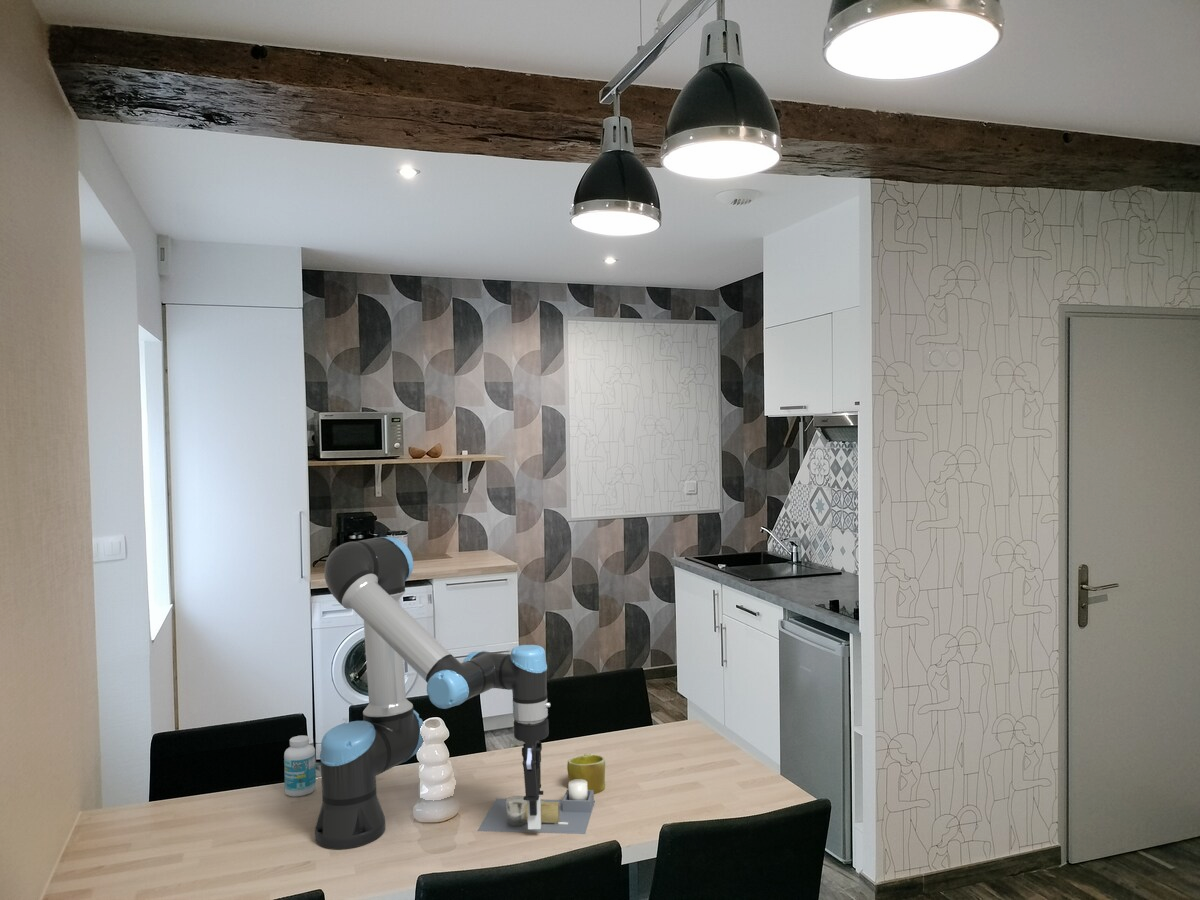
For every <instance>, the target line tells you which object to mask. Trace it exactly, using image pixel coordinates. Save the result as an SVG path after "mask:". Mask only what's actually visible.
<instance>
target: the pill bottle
mask: <svg viewBox="0 0 1200 900" xmlns="http://www.w3.org/2000/svg"><path fill="white" fill-rule="evenodd" d="M283 754H284V755H283V759H284V760H283V763H284V765H283V766H284V793H285V794H286V795H287V796H289V797H297V798H298V797H304V796H307V795H310V794H312V793H313V792H314V791H315V790H316V787H317V782H316V781H317V780H316V779H317V777H316V776H317V775H316V773H317V771H316V767H317V766H316V749H315V747H314V745H312V744H310V737H309V735H297V736H292V737H291V738H290V739H289V747H288V748H286V749H285V751H284V753H283Z"/></svg>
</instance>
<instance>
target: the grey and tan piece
mask: <svg viewBox="0 0 1200 900" xmlns="http://www.w3.org/2000/svg"><path fill="white" fill-rule="evenodd" d="M524 796H525V795H513V796H510V797H508V798H506V799H507V800H506V802H507V823H508V824H509V825H512V826H520V825H523V824H525V823H527V822H528V813H527V801H526V800H524V799H523V798H524ZM540 804H541V822H545V823H559V820H560V816H559V802H540Z"/></svg>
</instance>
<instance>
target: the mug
mask: <svg viewBox="0 0 1200 900" xmlns="http://www.w3.org/2000/svg"><path fill="white" fill-rule="evenodd" d="M566 766H567V768H566V769H567V777H568V783H569V782H570V781H571V780H574V779H583V780H586V781H587V790H594V795H597V794H600V793H602V792H604V791H605V789H606V761H605V758H604V757H603V756H601V755H598V754H597V755H596V754H592V753H584V754H583V755H580V756H579V755H578V756H573V757H571V758H569V759H567V765H566Z"/></svg>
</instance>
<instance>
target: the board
mask: <svg viewBox="0 0 1200 900" xmlns="http://www.w3.org/2000/svg"><path fill="white" fill-rule="evenodd" d="M507 799H508V798H495V800H494V801H493V802H492V805H491V807H490V809H489V810H488V812H487V814H486V815H485V817H484V818H483V820H482V822H481V824H480V825H479V827H478V829H477V832H496V833H497V832H500V833H503V832H504V833H530V834H531V833H536V834H537V833H538V834H540V833H541V834H567V835H569V834H571V835H572V834H573V835H574V834H575V835H586V833H587V830H588V826H589V823H590V819H591V815H592V813H593V809H594V806H595V803H596V800H595V794H594V790H588V800H569V789H566V791H565V794H564V796H563V799H541V798H540V802H559V816H560V820H559V823H545V822H541V829H528V822H527V823H525V824H523V825H520V826H512V825H509V824H508V823H507V802H506V800H507Z"/></svg>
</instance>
